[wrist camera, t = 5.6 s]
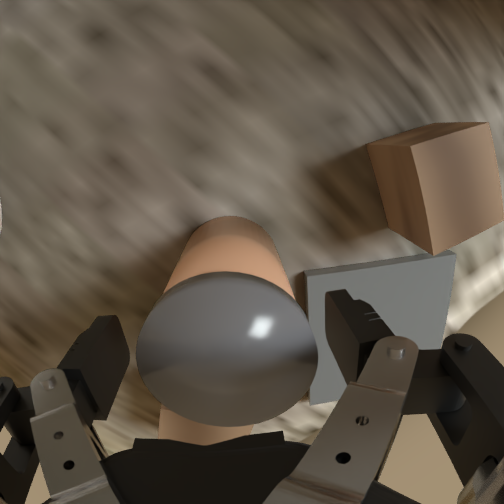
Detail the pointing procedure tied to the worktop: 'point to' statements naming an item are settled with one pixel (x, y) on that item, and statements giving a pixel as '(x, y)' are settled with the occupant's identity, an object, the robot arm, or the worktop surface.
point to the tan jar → (227, 331)
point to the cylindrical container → (0, 217)
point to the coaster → (381, 306)
